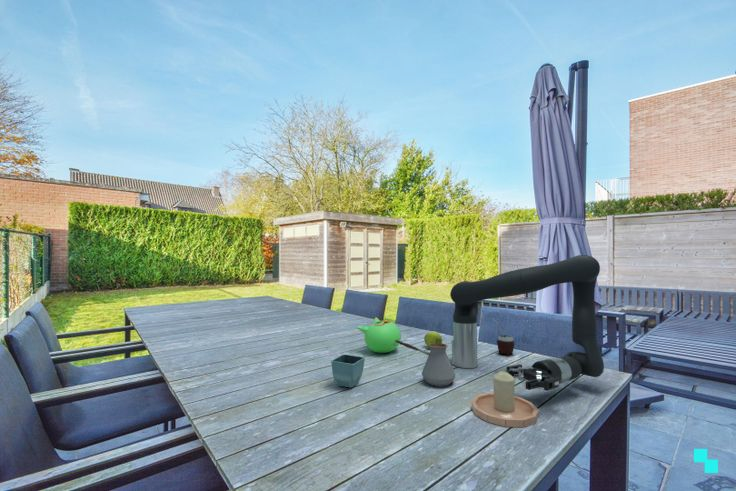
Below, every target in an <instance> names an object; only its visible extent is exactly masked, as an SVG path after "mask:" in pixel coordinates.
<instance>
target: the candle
mask: <svg viewBox="0 0 736 491" xmlns="http://www.w3.org/2000/svg"><path fill="white" fill-rule="evenodd" d="M506 371H507V370H502V371H501V370H500V371H497V373H496V374H494V375H493V376H492V377H493V393H494V408H495V409H497V410H499V411H502V412H513V411H514V410H515V396H516V395H515V394H516V393H515V390H516V389H515V378H513V377H512V376H511V375H510V374H509V373H507V372H506Z"/></svg>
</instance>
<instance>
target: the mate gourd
mask: <svg viewBox="0 0 736 491" xmlns="http://www.w3.org/2000/svg"><path fill="white" fill-rule="evenodd" d="M492 320H493V322H494V323H496V325H497V327H498V329H499V332H500V335H499V336H498V337H497V341H496V343H497V344H496V345H497V350H498V355H499V356H506V357H508V358H510V356H513V355H514V353H513V352H514V348H515V340H514V337H513V336H512V335H509V334H503V331H502V329H501V325H500V324H499V323H498V321H496V319H494V318H492Z"/></svg>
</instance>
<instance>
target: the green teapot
mask: <svg viewBox="0 0 736 491" xmlns="http://www.w3.org/2000/svg"><path fill="white" fill-rule="evenodd" d="M356 329H357V330H359V331H360V332H362V333H364V342H365V345H366V346H367V348H368V349H369V350H371V351H372V352H375V353H378V354H385V353H390V352H391V351H392V352H393V351H394V350H396V348H397V347H399V345H400V343H397V342H396V344H395V343H394V341H395V340H398V341H400V342H401V341H402V340H401V339H402V333H401V330H400V328H399V326H397V324H395V323H394V322H391V321H389V320H387V319H386V320H380V319H379V318H378V317H374V319H373V323H371V324H370V325H369V326H368V325H367V326H366V325H358V326H357V327H356Z"/></svg>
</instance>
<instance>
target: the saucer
mask: <svg viewBox="0 0 736 491" xmlns="http://www.w3.org/2000/svg"><path fill="white" fill-rule="evenodd" d="M470 403H471V410H472V411H473V413H474V415H475V416H476V417H478V418H480V419H481V420H483V421H485V422H487V423H489V422H490V424H493V425H497V426H501V427H504V428H526V427H529V426H532V425H535V424H536V423H537V422H538V418H539V409H538V408H537V407H536V405H535V404H534V403H533V402H531V401H529V400H527V399H524V398H522V397H520V396H519V395H518V396H517V395H515V410H514V411H513V412H502V411H499V410H497V409H495V408H494V392H486V393H481V394H477V395H475V396H474V398H472V399H471V402H470Z"/></svg>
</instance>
